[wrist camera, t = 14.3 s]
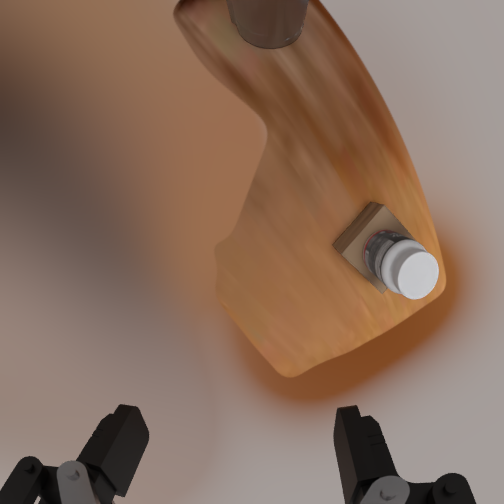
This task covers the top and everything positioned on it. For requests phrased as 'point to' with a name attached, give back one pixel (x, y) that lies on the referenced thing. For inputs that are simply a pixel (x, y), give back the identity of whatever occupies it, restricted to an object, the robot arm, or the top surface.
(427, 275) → the pill bottle
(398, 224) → the walnut block
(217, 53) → the top surface
